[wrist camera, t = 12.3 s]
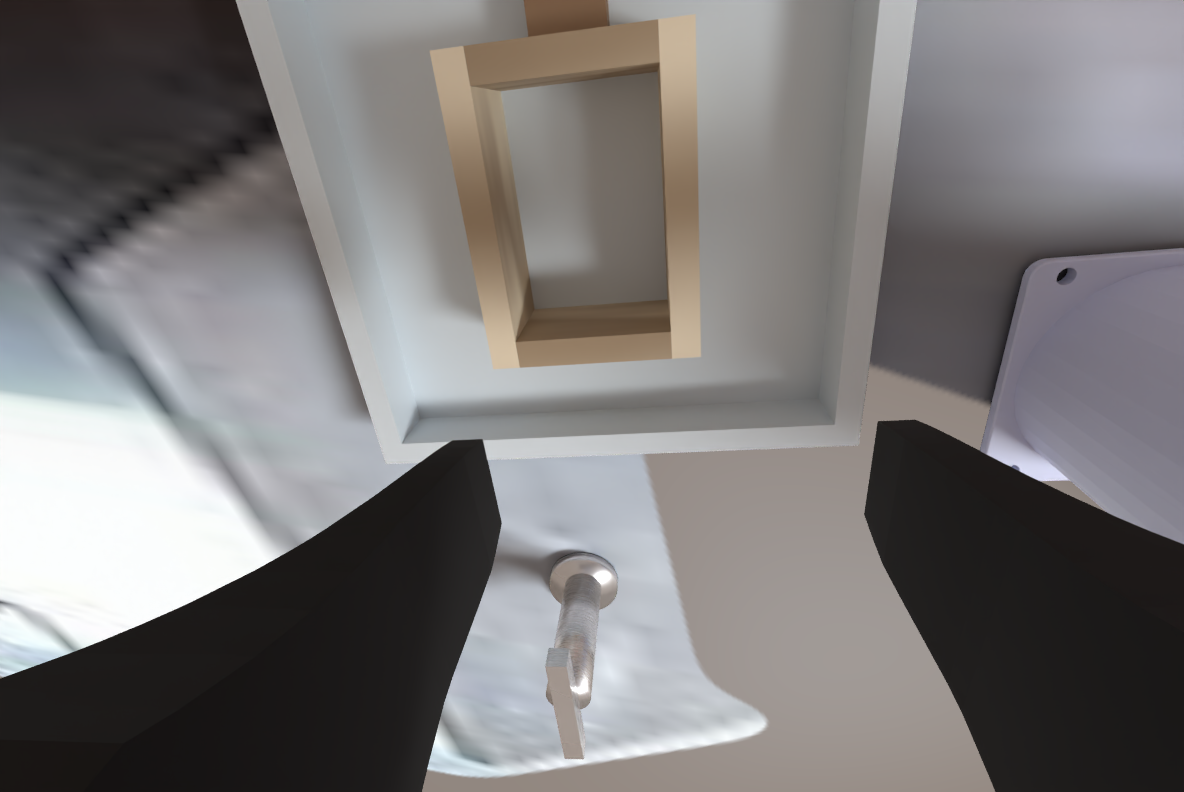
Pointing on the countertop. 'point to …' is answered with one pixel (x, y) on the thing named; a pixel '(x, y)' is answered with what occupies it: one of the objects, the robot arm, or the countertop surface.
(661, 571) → the countertop surface
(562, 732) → the t head stake
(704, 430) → the tray
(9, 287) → the countertop surface
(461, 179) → the wooden lantern frame
